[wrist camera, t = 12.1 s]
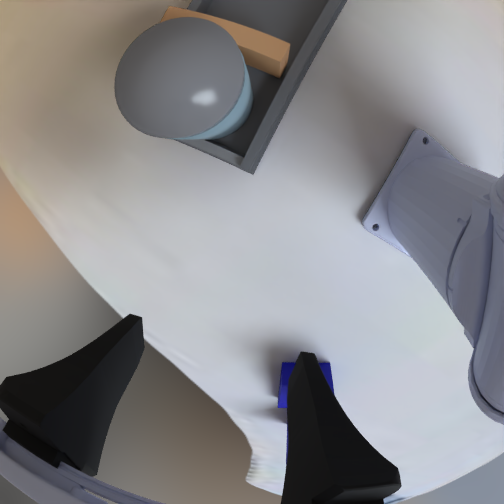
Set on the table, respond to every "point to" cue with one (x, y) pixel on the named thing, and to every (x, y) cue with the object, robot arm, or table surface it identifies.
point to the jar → (184, 81)
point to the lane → (265, 85)
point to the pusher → (246, 42)
